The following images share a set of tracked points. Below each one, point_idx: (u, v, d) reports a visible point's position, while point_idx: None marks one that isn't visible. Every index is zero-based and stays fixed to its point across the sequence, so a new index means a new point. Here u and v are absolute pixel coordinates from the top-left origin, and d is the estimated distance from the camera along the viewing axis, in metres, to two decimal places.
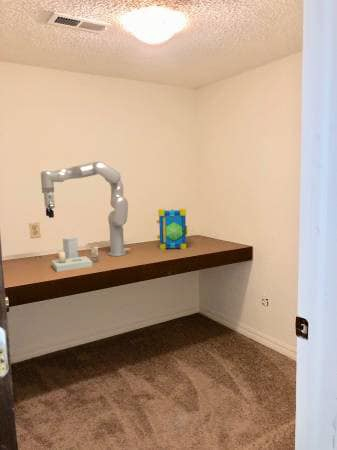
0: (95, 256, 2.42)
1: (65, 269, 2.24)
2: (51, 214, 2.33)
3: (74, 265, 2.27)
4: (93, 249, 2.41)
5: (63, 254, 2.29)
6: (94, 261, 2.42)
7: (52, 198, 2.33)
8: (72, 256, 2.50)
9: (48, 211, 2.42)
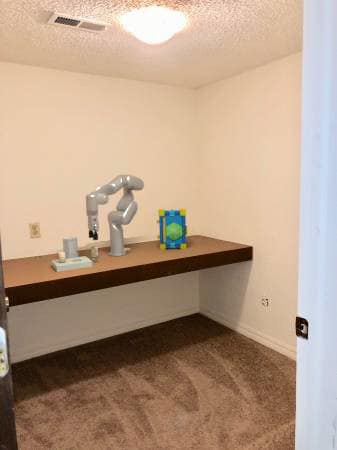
0: (95, 256, 2.42)
1: (65, 269, 2.24)
2: (95, 237, 2.36)
3: (74, 265, 2.27)
4: (93, 249, 2.41)
5: (63, 254, 2.29)
6: (94, 261, 2.42)
7: (97, 221, 2.36)
8: (72, 256, 2.50)
9: (91, 233, 2.45)
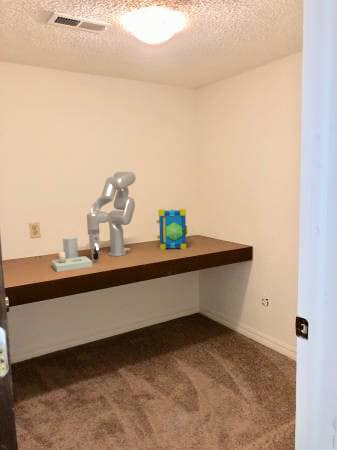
0: None
1: (65, 269, 2.24)
2: (96, 256, 2.40)
3: (74, 265, 2.27)
4: None
5: (63, 254, 2.29)
6: (94, 261, 2.42)
7: (98, 240, 2.38)
8: (72, 256, 2.50)
9: None
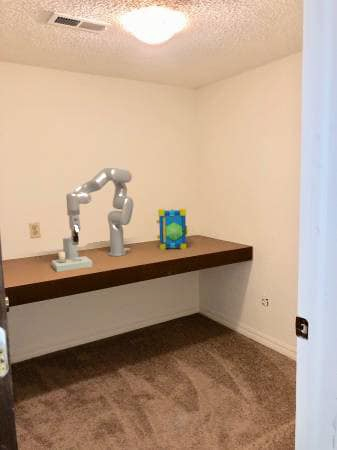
0: None
1: (65, 269, 2.24)
2: (76, 238, 2.30)
3: (74, 265, 2.27)
4: None
5: (63, 254, 2.29)
6: (74, 243, 2.31)
7: (78, 221, 2.27)
8: (72, 256, 2.50)
9: None
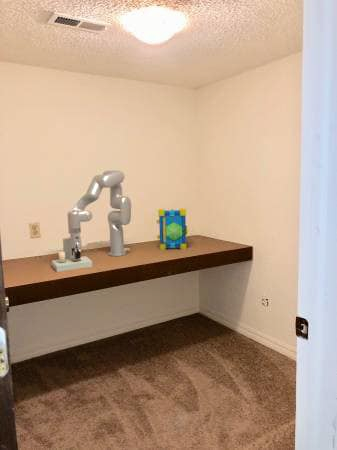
0: (76, 260, 2.33)
1: (65, 269, 2.24)
2: (78, 255, 2.29)
3: (74, 265, 2.27)
4: (74, 252, 2.32)
5: (63, 254, 2.29)
6: None
7: (79, 239, 2.29)
8: (72, 256, 2.50)
9: None
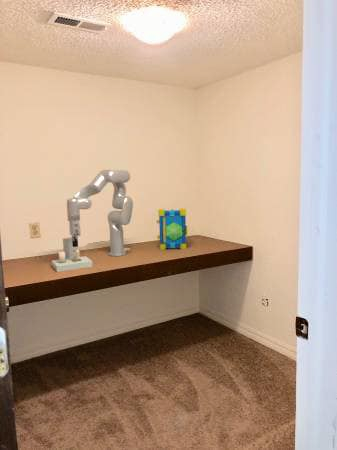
0: (77, 260, 2.33)
1: (65, 269, 2.24)
2: (75, 243, 2.32)
3: (74, 265, 2.27)
4: (74, 252, 2.32)
5: (63, 254, 2.29)
6: None
7: (78, 226, 2.28)
8: (72, 256, 2.50)
9: None
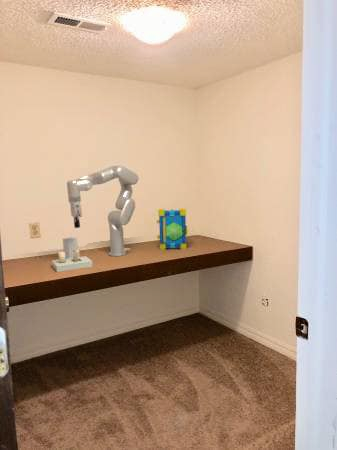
0: (77, 260, 2.33)
1: (65, 269, 2.24)
2: (77, 224, 2.37)
3: (74, 265, 2.27)
4: (74, 252, 2.32)
5: (63, 254, 2.29)
6: None
7: (79, 207, 2.32)
8: (72, 256, 2.50)
9: None
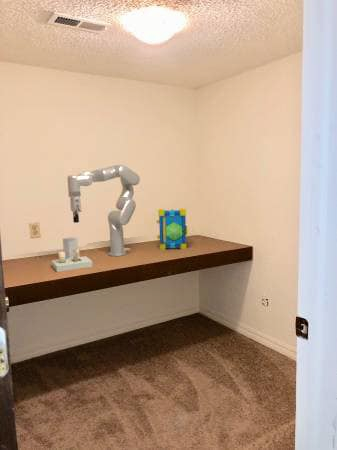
0: (77, 260, 2.33)
1: (65, 269, 2.24)
2: (76, 219, 2.37)
3: (74, 265, 2.27)
4: (74, 252, 2.32)
5: (63, 254, 2.29)
6: None
7: (79, 202, 2.33)
8: (72, 256, 2.50)
9: None
